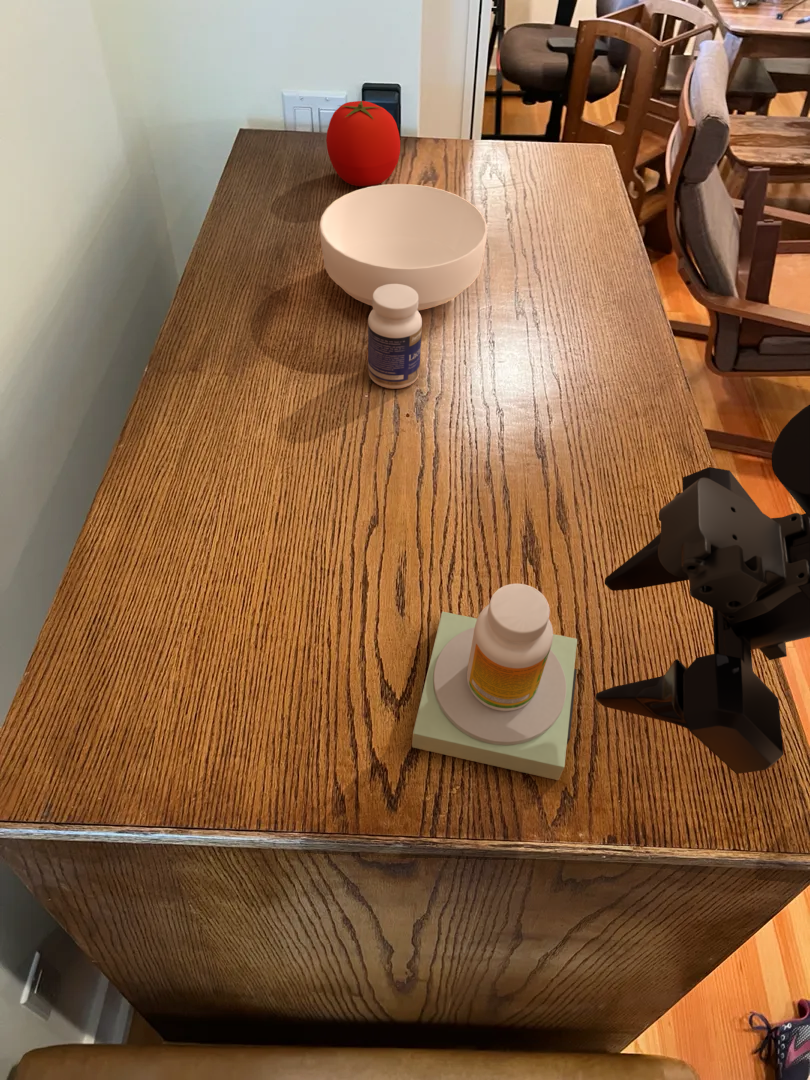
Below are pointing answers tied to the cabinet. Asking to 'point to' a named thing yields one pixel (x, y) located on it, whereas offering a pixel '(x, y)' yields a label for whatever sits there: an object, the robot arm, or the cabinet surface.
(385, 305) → the pill bottle
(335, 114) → the tomato
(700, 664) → the robot arm
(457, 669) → the scale
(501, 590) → the supplement bottle
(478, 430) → the cabinet surface
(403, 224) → the bowl
